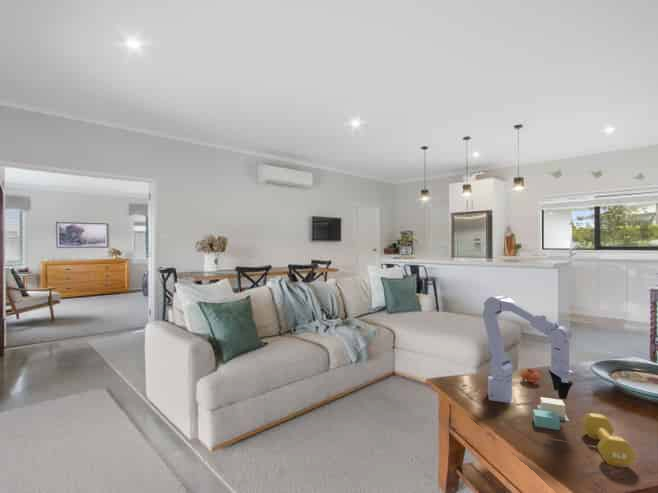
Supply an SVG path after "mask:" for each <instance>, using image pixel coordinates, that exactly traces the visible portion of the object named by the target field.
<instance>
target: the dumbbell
mask: <svg viewBox="0 0 658 493" xmlns="http://www.w3.org/2000/svg"><path fill="white" fill-rule="evenodd" d="M580 425H581V427H582V429H583V430H584V432H585V434H586V435H587V436H588V437H589V438H590V439H593V440H596V441H599V442H598V444H597V450H598V452H599V454H600V455H601V457H602V458H603V460H604V461H605V462H606V463H607V465H610V466H612V467H616V468H617V467H618V468H624V469H626V468H628V467H629V466H630V465H631V464H632V463H634V461H635V459H636V453H635V451H634V450H633V448H632V447H631V445H630V444H629V442H628V441H627V440H626V439H625V438H623V437H620V436H616V435H614V433H615V428H614V426H612V423H611V422H610V421H609V419H608V418H607V417H606V415H604V414H600V413H594V412H593V413H592V412H588V413H587V414H586V415H585V416H584V417H583V418H582V420H581V422H580Z"/></svg>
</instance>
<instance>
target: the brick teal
mask: <svg viewBox="0 0 658 493" xmlns="http://www.w3.org/2000/svg"><path fill="white" fill-rule="evenodd" d="M532 420H533V423H534V426H535V427H538V428H545V429H550V430H555V431H556V430H557V431H560V430H561V429H560V428H561V425H560V423H561V422H560V421H561V420H560V419H559V417H558V415H557V413H555V412H548V411H542V410H539V409H532Z"/></svg>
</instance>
